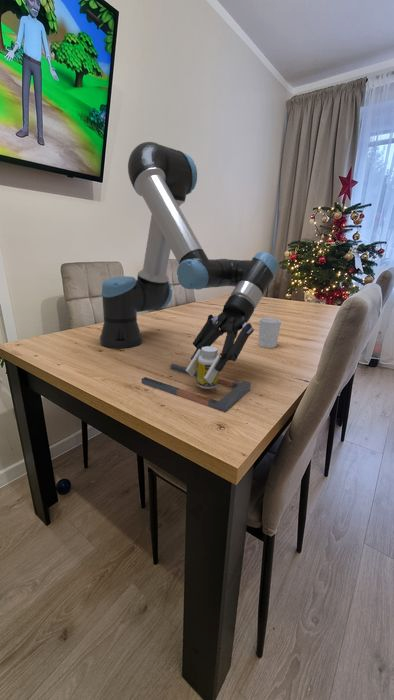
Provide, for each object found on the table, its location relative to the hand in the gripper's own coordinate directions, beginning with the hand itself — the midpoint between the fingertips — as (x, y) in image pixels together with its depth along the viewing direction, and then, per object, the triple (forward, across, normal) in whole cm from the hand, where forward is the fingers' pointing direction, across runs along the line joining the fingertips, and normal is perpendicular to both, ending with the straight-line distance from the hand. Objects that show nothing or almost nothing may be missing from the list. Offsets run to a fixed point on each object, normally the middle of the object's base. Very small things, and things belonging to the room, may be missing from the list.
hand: (198, 376), depth 74 cm
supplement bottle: (0, 0, -5) cm, 5 cm away
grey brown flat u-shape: (+1, +4, -6) cm, 7 cm away
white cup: (-32, +9, -39) cm, 51 cm away
